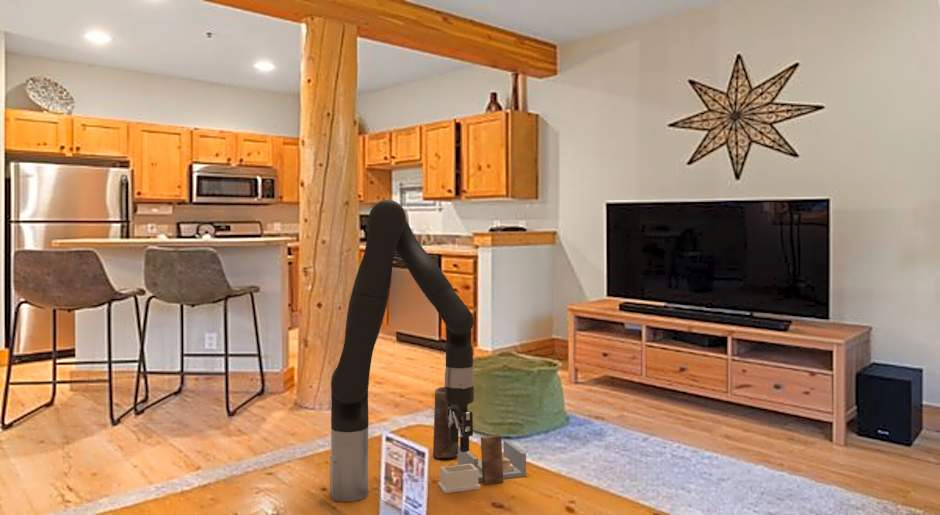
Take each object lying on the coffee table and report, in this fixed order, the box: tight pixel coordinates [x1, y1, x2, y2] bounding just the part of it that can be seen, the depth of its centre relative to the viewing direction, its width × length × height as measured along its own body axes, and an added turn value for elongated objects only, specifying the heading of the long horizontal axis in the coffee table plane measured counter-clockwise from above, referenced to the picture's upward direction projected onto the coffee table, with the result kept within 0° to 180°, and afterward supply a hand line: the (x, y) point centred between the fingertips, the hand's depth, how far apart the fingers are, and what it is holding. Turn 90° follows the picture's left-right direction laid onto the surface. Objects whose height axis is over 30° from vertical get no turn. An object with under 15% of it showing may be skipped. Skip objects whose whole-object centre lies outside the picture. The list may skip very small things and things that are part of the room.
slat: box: [480, 433, 504, 485], centre depth 170 cm, size 5×2×12 cm, turn 110°
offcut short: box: [502, 456, 510, 467], centre depth 175 cm, size 6×3×2 cm, turn 113°
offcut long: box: [478, 463, 514, 474], centre depth 175 cm, size 9×3×2 cm, turn 109°
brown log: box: [432, 386, 460, 460], centre depth 190 cm, size 8×7×20 cm
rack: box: [457, 439, 527, 483], centre depth 178 cm, size 15×13×6 cm
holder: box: [437, 463, 482, 494], centre depth 167 cm, size 10×6×5 cm, turn 109°
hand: (459, 446), depth 166 cm, fingers open, 8 cm apart
